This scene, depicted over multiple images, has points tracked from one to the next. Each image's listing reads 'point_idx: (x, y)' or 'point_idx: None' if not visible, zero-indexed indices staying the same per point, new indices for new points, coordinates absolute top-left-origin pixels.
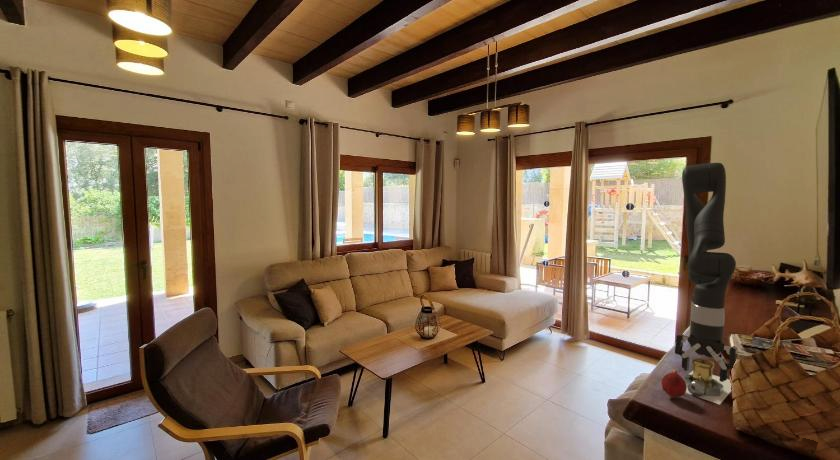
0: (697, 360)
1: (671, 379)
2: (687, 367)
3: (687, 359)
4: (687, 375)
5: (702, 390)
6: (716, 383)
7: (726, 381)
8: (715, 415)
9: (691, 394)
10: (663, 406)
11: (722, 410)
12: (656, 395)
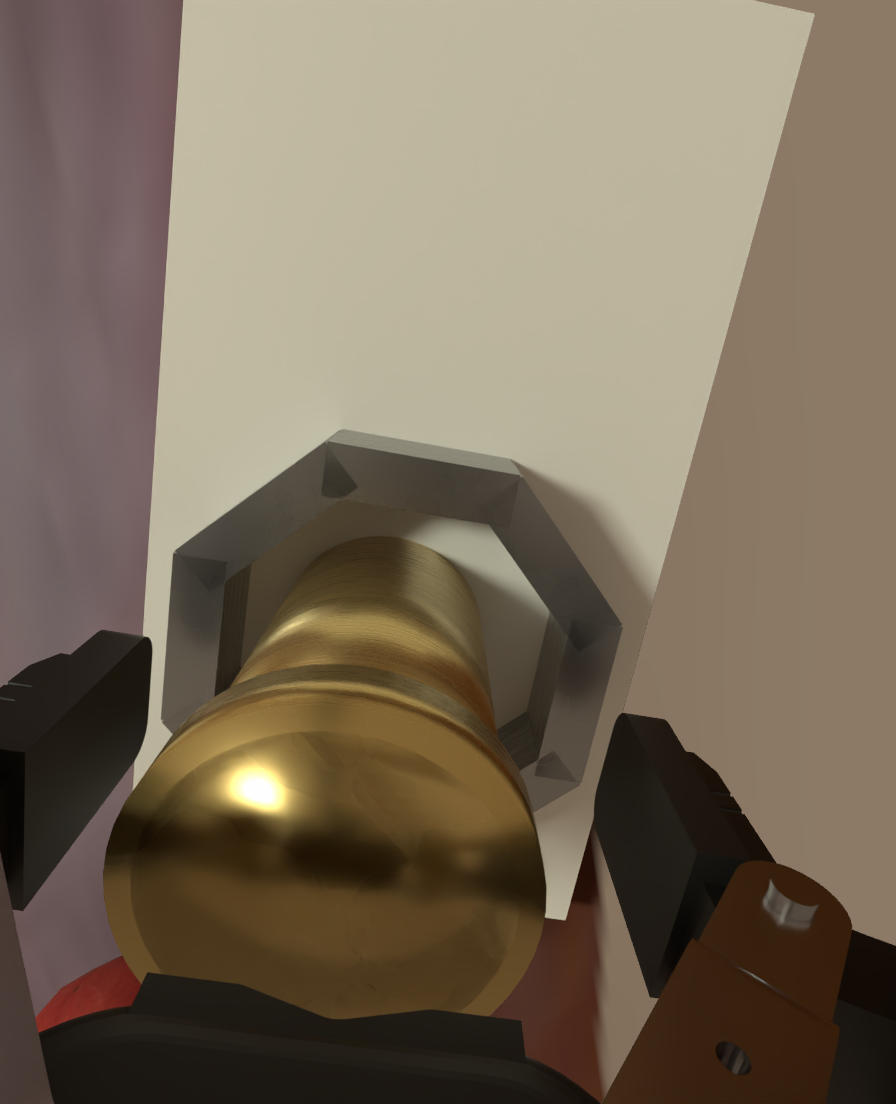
0: (213, 942)
1: None
2: (122, 742)
3: (26, 883)
4: (181, 595)
5: None
6: (541, 598)
7: (656, 120)
8: (530, 1036)
9: None
10: None
11: (581, 915)
12: None
